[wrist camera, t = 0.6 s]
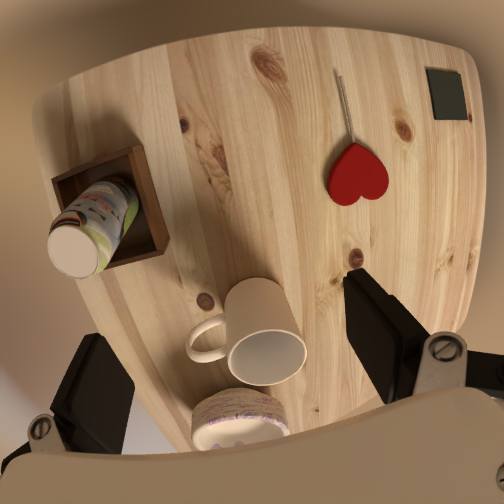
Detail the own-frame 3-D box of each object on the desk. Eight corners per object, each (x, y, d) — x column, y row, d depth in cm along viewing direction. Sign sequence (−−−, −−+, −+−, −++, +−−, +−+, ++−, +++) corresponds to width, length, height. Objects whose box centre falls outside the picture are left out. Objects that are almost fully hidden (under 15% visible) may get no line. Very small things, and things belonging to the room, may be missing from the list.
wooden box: (68, 172, 28) (50, 179, 24) (143, 144, 28) (131, 146, 24) (98, 259, 32) (85, 274, 28) (170, 239, 32) (164, 254, 29)
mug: (288, 275, 36) (311, 325, 26) (283, 326, 39) (302, 382, 29) (187, 278, 35) (178, 332, 25) (193, 330, 38) (188, 389, 28)
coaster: (425, 70, 27) (427, 69, 27) (458, 74, 27) (460, 74, 27) (434, 119, 30) (436, 119, 29) (466, 119, 30) (467, 120, 30)
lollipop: (305, 79, 27) (329, 208, 33) (307, 78, 26) (332, 210, 32) (369, 75, 27) (387, 195, 33) (372, 74, 26) (391, 196, 32)
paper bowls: (200, 429, 47) (200, 463, 40) (184, 378, 41) (181, 418, 34) (280, 422, 48) (288, 455, 41) (283, 369, 42) (294, 408, 35)
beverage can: (137, 169, 29) (93, 191, 18) (146, 234, 32) (114, 285, 21) (87, 178, 28) (28, 204, 17) (98, 239, 31) (51, 289, 20)
